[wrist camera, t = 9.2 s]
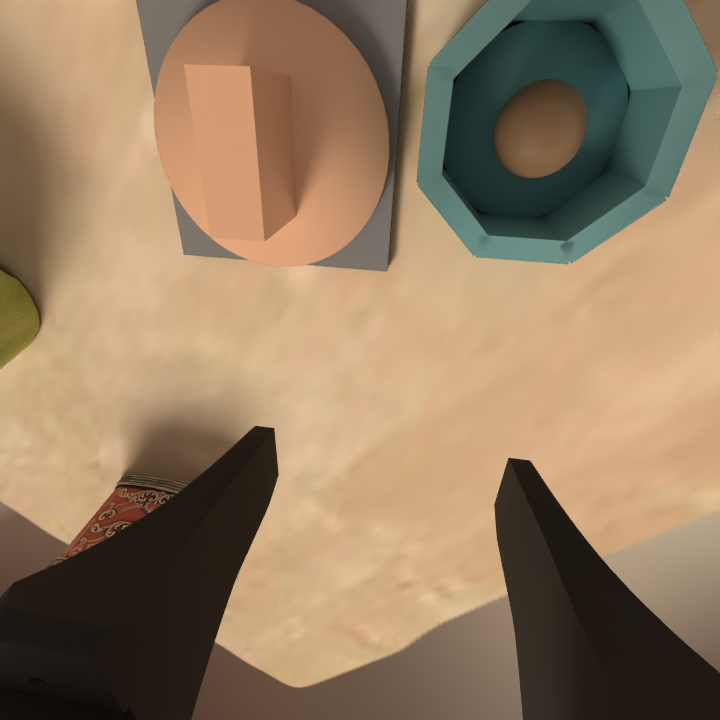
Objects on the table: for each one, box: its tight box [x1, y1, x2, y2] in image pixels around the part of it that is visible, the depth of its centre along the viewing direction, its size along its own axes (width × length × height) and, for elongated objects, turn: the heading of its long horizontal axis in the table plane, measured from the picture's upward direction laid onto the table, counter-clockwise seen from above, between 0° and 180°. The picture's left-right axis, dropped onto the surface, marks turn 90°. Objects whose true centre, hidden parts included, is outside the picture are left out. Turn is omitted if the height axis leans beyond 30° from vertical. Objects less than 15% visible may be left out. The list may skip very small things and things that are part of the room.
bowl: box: [417, 0, 717, 264], centre depth 15 cm, size 8×8×4 cm
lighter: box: [47, 474, 187, 568], centre depth 27 cm, size 8×3×10 cm, turn 81°
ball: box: [493, 79, 588, 178], centre depth 14 cm, size 3×3×3 cm
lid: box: [154, 0, 390, 267], centre depth 15 cm, size 10×10×5 cm
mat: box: [136, 0, 408, 271], centre depth 18 cm, size 10×10×1 cm
